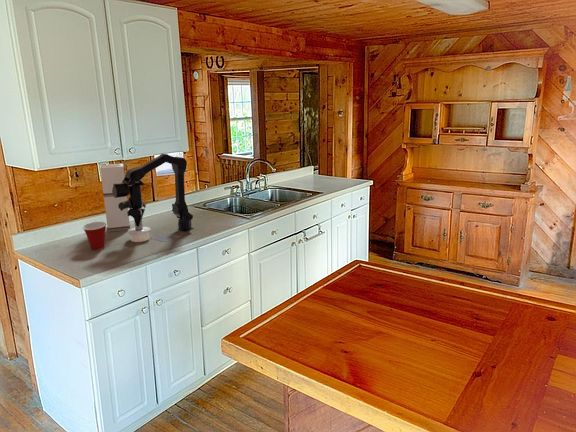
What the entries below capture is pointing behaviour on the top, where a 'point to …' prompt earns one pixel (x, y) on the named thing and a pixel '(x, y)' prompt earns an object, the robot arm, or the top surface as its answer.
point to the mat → (165, 237)
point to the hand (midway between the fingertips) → (138, 225)
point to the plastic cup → (95, 234)
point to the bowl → (139, 237)
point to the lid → (139, 229)
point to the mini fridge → (114, 215)
